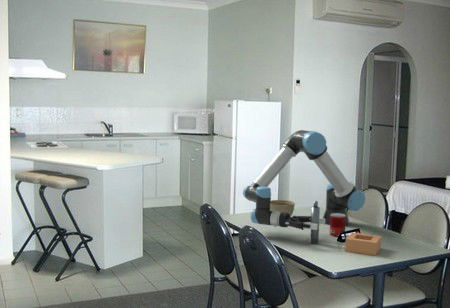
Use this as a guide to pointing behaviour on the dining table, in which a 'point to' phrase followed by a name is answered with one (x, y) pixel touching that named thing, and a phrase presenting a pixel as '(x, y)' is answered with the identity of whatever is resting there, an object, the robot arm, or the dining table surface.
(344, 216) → the canned food
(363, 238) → the hollowed wooden tray
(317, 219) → the slim metal bottle
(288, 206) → the planter bowl
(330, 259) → the dining table surface
